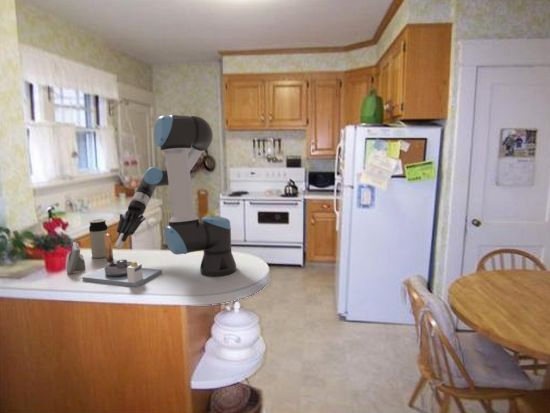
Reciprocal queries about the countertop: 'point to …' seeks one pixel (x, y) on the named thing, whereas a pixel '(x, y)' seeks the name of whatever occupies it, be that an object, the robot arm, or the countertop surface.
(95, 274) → the stand
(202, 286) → the countertop surface
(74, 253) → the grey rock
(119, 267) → the crank
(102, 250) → the travel mug
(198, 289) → the countertop surface
